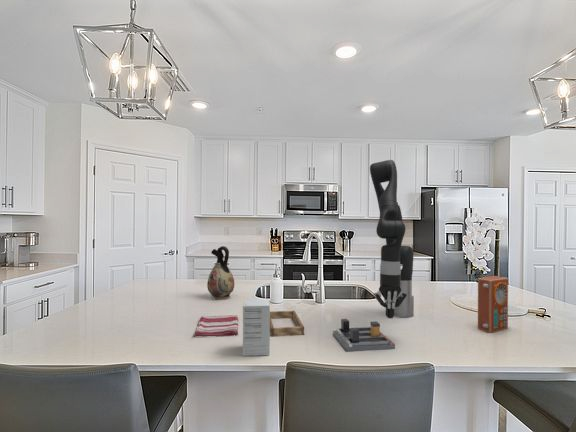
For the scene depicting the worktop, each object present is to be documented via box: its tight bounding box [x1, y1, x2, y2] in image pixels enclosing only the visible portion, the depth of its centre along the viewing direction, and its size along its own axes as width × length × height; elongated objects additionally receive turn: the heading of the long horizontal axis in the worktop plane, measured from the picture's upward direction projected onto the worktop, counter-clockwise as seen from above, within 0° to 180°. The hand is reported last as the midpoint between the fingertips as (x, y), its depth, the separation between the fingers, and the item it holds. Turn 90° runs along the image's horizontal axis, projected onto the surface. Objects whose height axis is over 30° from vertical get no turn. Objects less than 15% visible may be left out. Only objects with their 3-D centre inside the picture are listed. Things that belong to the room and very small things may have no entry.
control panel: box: [477, 275, 509, 334], centre depth 137 cm, size 21×7×15 cm
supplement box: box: [242, 298, 271, 357], centre depth 114 cm, size 10×9×17 cm
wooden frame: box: [270, 310, 305, 337], centre depth 139 cm, size 13×23×3 cm, turn 8°
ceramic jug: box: [206, 245, 235, 300], centre depth 187 cm, size 17×15×30 cm
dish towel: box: [194, 314, 239, 337], centre depth 138 cm, size 17×23×3 cm
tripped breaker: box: [370, 321, 381, 336], centre depth 123 cm, size 2×3×5 cm
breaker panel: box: [332, 318, 396, 352], centre depth 123 cm, size 18×16×6 cm
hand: (389, 317), depth 124 cm, fingers closed
